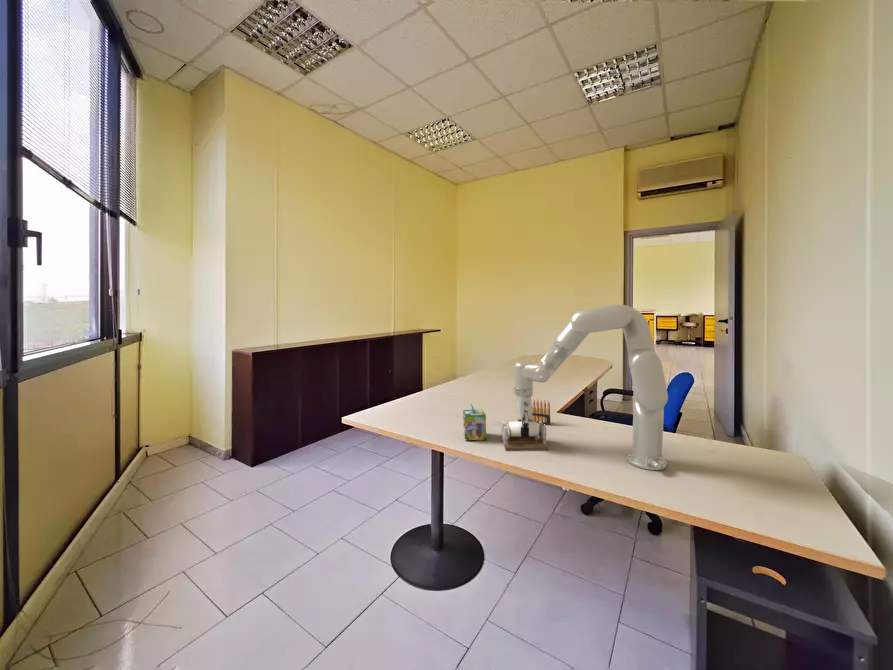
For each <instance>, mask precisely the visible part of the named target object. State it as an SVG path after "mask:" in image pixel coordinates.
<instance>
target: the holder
mask: <svg viewBox="0 0 893 670" xmlns="http://www.w3.org/2000/svg"><path fill="white" fill-rule="evenodd" d="M537 425H538V436H529V437H521V436H512V437H510V434H509V427H508V426H507V424H506V422H505V421H501V434H500V440H501V441H502V445H503V446H504V450H505V452H507V451H509V452H510V450H515V452H517V451H516V450H519V451H520V450H528V451H549V447H548V445H547V427H546V425H544V424H543V423H542V422H541V421H539V422H538V424H537ZM519 451H518V452H519Z"/></svg>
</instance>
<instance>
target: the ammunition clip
mask: <svg viewBox="0 0 893 670" xmlns="http://www.w3.org/2000/svg"><path fill="white" fill-rule="evenodd" d="M550 404H551V403H550V400H547V402H546V400H544V401H543V400H542V399H540V402H539V399H538V398H537V399H536V401H535V399H533V400H532V420H531V421H530V420H529V418H528V420H529V422H537V423H538V422H539V421H541V422H542V423H543V424H545V426H549V425H550V426H551V405H550Z"/></svg>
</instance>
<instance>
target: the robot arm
mask: <svg viewBox="0 0 893 670" xmlns="http://www.w3.org/2000/svg"><path fill="white" fill-rule="evenodd" d="M619 329H621V331H622V332H623V334H624V339H625V342H626V343H625V344H626V347H627V348H626V349H627V353H628V355H627V356H628V366H629V369H630V370H629V371H630V375H631V379H632V386H633V391H632V392H633V394H632V396H633V400H632V401H633V406H632V407H633V409H632V410H633V411H632V412H633V415H632V416H633V417H632V418H633V419H632V441H631V443H632V448H631V453H629V454H628V455H627V457H626V458H627V459H626V460H627V462H628V463H629V464H630V465H633V466H634V467H638V468H640V469H644V470H648V471H661V470H662V471H663V470H665V469H667V466H668V463H667V461H666V459H664V456H663V443H664V441H663V440H664V419H665V406H666V405H667V403H668V399H669V396H668V395H669V394H668V388H667V384H666V378H665V373H664V368H663V364H662V360H661V359H660V357H659V356H658V354H657V352H656V348H655V344H654V339H653V334H652V331H651V328H650V325H649V322H648V320H647V318H646V317H645V316H644V315H643V313H642V312H640V311H639V310H637V309H635V308H634V307H631V306H628V305H626V304H622V303H615V304H611V305H607V306H605V305H604V306H601V307H595V308H590V309H582V310H578V311H576V312H575V313H573V315H572V317H571V319H570V320H569V321H568V323H567V324H566V325H565V326H564V328H563V329H562V330H561V331H560V333H558V335H557V336H556V337H555V339H554V341H553V342H552V346H551V347H550V348H549V350H548V351H547V352H546V353H545V354H544V356H543V357H542V358H541V360H540V361H538V362H537V363H535V364H534V363H532V362H530V361H517V362H515V364H514V371H513V372H514V374H513V375H514V376H513V377H514V379H513V380H514V383H513V384H514V391H513V392H514V396H515V397H516V401H515V402H516V408H515V409H516V410H515V411H516V415H517V422H521V424H522V427H521V437H529V420H530V421H531V420H532V407H533V400H532V397H533V396H534V390H533V389H534V388H533V387H534V382H537V383H545V382H548V381H549V380H550V379H551V378H552V376H553V375H554V374H555V373H556V372H557V370H558V369H559V368H560V367H561V365H562V364H564V362H565V361H566V360H567V359H568V358H569V357H570V356H571V355H572V354H573V353H574V352H575V351H576V349H578V347H579V346H580V345H581V344H582V342H583V341H584V340H585V339H586V338H587V337H588V336H589V335H590V333H591V334H592V333H599V332H606V331H607V332H608V331H612V330H619ZM528 418H529V420H528ZM523 422H524V424H523Z"/></svg>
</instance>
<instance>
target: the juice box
mask: <svg viewBox="0 0 893 670" xmlns="http://www.w3.org/2000/svg"><path fill="white" fill-rule="evenodd" d="M470 406H471V408H470V409H463V410H462V411H463V412H462V413H463V415H462V416H463V418H462V419H463V420H462V421H463V436H465V437H464V439H466V440H476V441H487V414H486V412H485V411H484V410H483V409H481V408H479V409H477V408H476V409H475V408H474V406H473V403H470ZM466 440H465V441H466Z"/></svg>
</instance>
